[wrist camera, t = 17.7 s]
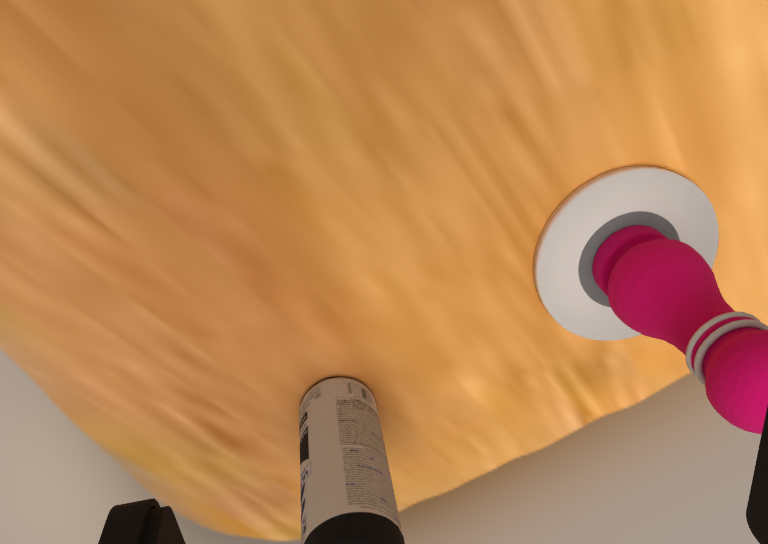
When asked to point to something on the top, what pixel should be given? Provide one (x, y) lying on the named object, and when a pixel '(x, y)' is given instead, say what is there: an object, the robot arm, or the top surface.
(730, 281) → the top surface
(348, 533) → the spray can
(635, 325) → the pepper mill
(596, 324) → the mount plate
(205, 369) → the top surface
